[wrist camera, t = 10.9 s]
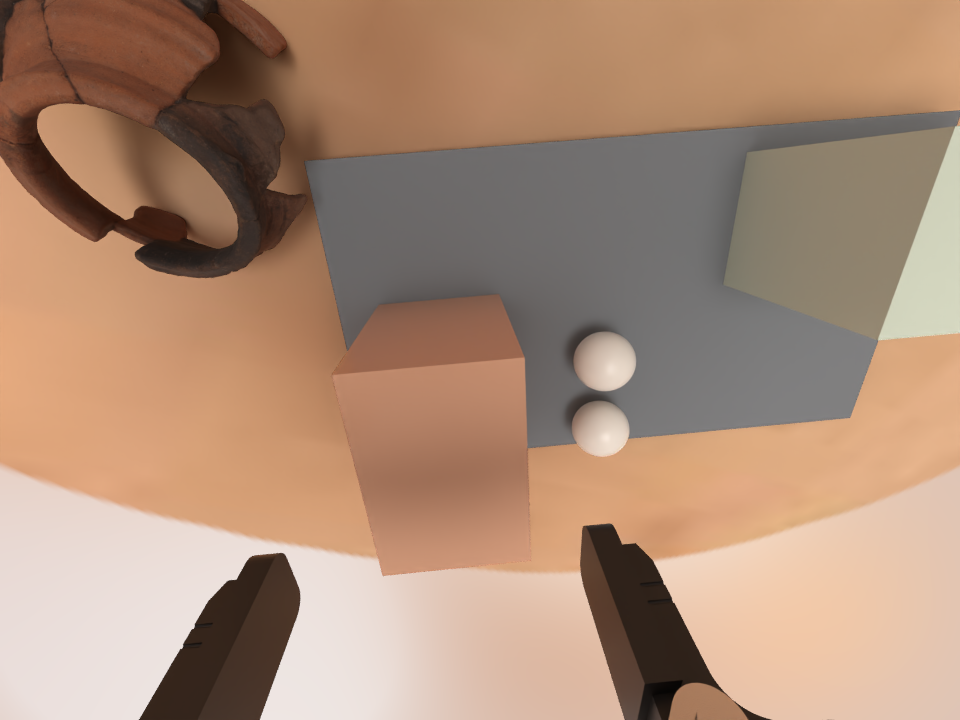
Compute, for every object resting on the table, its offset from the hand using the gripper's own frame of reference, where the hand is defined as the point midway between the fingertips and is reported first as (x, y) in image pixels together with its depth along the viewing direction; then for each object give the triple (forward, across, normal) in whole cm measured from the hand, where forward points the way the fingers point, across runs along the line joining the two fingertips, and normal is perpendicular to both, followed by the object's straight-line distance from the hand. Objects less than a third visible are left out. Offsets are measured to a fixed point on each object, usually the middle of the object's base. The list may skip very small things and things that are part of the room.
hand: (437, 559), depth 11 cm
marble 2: (+11, -8, +4) cm, 14 cm away
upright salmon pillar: (+12, 0, +1) cm, 12 cm away
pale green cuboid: (+12, -19, -6) cm, 23 cm away
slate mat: (+13, -10, -2) cm, 16 cm away
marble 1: (+12, -8, 0) cm, 14 cm away
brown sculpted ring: (+13, +10, -12) cm, 20 cm away
